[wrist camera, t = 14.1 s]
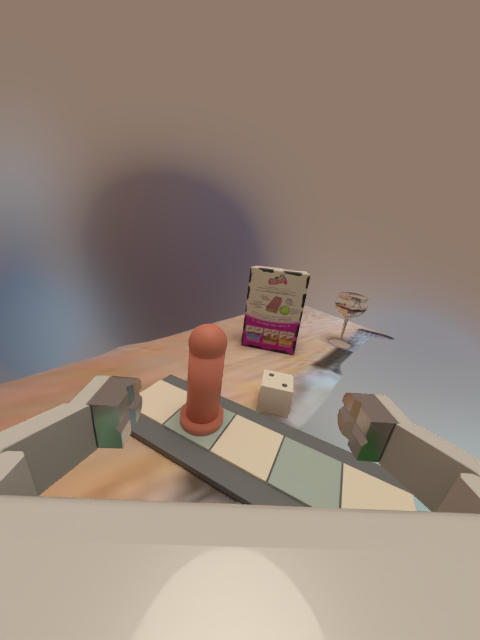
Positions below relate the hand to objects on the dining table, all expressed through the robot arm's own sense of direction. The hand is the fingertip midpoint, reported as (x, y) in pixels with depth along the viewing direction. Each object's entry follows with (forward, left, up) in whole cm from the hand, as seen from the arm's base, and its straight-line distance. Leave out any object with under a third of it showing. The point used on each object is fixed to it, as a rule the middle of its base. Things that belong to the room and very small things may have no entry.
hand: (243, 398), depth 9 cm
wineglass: (-50, +5, -15) cm, 52 cm away
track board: (-11, -2, -15) cm, 18 cm away
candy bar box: (-37, -9, -15) cm, 41 cm away
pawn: (-11, -8, -14) cm, 19 cm away
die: (-19, -2, -15) cm, 24 cm away
